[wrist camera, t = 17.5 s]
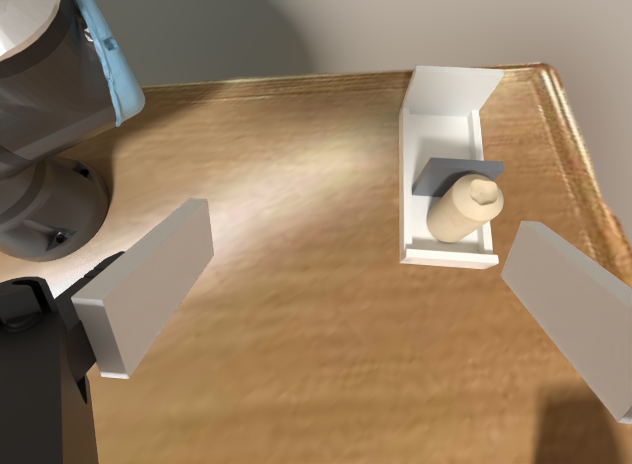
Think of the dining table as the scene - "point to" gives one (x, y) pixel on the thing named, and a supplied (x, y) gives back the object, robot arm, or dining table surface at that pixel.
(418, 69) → the pusher lane
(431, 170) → the plate
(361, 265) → the dining table surface
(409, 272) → the dining table surface
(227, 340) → the dining table surface
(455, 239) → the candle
